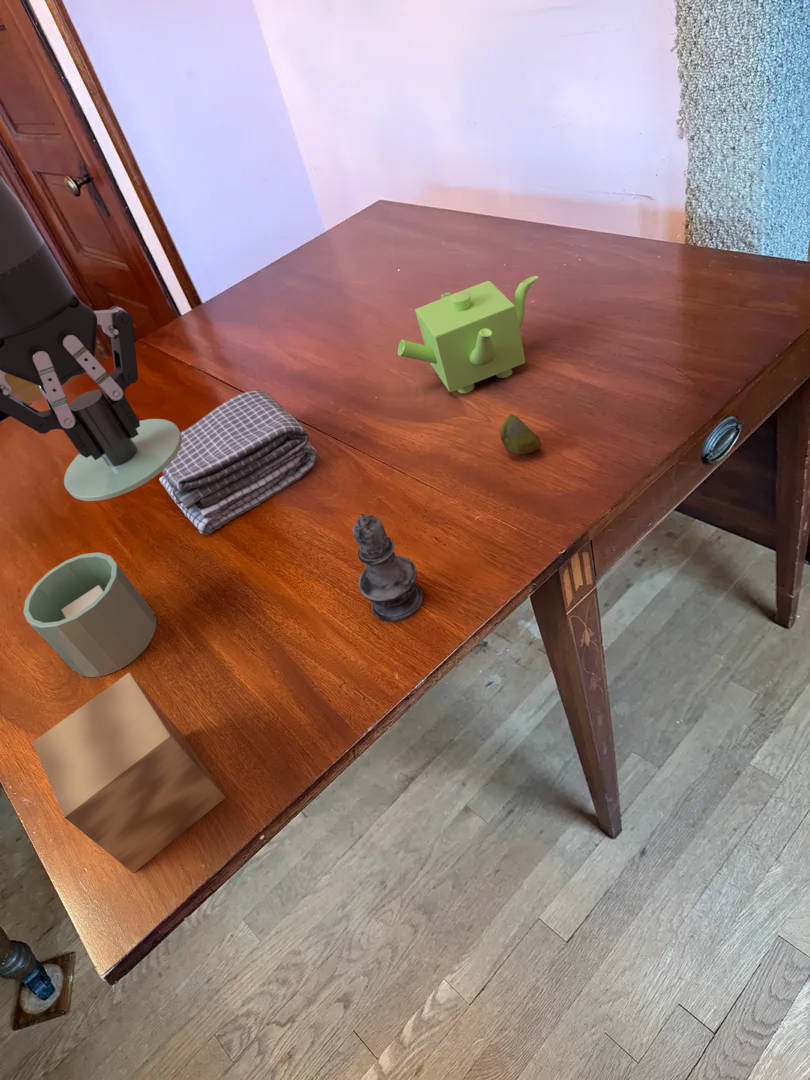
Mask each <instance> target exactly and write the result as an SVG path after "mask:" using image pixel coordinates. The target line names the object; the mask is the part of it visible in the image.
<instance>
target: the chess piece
mask: <svg viewBox="0 0 810 1080" xmlns="http://www.w3.org/2000/svg"><path fill="white" fill-rule="evenodd" d="M358 518H359V519H356V521H355V523H354V524H353V526H352V535H353V537H354V540H355V542H356V544H357V547H358V552H357V557H358V559H359V561H360V562H361V563H363V564H364V565H365V568H364V569H363V570H362V572H361V574H359V578H358V589H359V591H360V593H361V595H362V596H364V598H366V599H368V600H369V602H371V604H370V605H371V611H372V613H373V615H374V616H375V617H376V618H377V619H379V620H381V621H384V622H388V623H393V622H400V621H404V620H405V619H407V618H410V617H411V616H413V615H414V614H415V613H416V612H417V611H418V610H419V608H420V607H421V605H422V603H423V598H424V597H423V596H424V595H423V591H422V589H421V587H420V586H419V585H418V584H417V583H416V582H417V577H418V570H417V566H416V564H415V563H414V561H412V560H411V559H410V558H409V557H407V556H403V555H397V554H396V552H395V549H396V544H395V542H394V540H393V539H392V538H391V537H389V536H388V535H387V534H388V533H387V532H386V530H385V527H384V525H383V522H382V520H381V519H380V518H379V517H377V516H375V515H367V514H365V513H360V515H359V517H358Z"/></svg>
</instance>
